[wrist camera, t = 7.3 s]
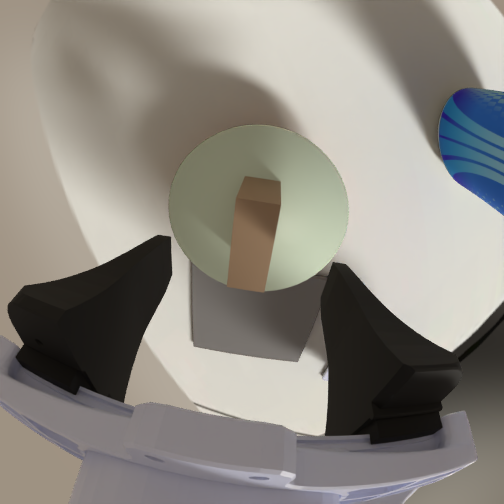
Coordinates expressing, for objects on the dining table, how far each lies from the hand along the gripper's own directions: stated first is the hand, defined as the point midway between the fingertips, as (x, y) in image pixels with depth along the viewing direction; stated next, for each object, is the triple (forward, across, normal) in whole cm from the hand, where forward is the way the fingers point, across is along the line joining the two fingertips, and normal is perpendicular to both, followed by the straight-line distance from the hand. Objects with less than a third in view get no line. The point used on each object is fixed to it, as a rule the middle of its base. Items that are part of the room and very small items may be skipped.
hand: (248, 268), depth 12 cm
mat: (+10, -1, +12) cm, 16 cm away
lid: (+6, 0, 0) cm, 6 cm away
